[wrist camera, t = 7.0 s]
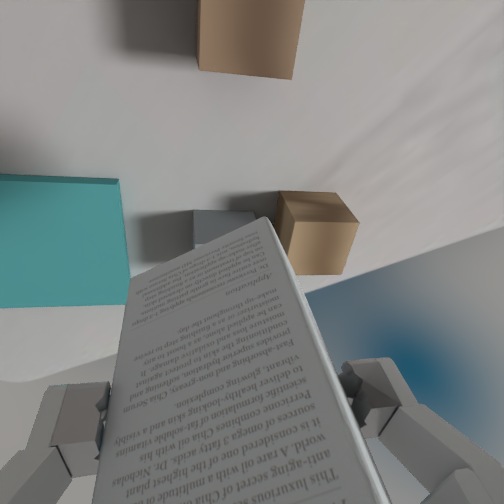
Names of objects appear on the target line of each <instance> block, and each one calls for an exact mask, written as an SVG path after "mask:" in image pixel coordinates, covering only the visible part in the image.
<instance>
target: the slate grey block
mask: <svg viewBox="0 0 504 504" xmlns="http://www.w3.org/2000/svg"><path fill="white" fill-rule="evenodd" d="M255 220H256V218H255V215H254V212H253V211H220V210H193V246H192V250H193V249H195V248H197V247H200V246H202V245H204V244H206V243H208V242H210V241H212V240H215V239H217V238H219V237H221V236H223V235H225V234H227V233H230V232H232V231H234V230H236V229H238V228H240V227H242V226H245V225H247V224H249V223H251V222H253V221H255Z"/></svg>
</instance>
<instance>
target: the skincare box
mask: <svg viewBox="0 0 504 504" xmlns="http://www.w3.org/2000/svg"><path fill="white" fill-rule="evenodd" d="M92 504H392V502H391V500H390V497H389V495H388V493H387V490H386V488H385V486H384V483H383V481H382V479H381V476H380V474H379V472H378V469H377V467H376V465H375V462H374V460H373V457H372V455H371V453H370V450H369V448H368V446H367V443H366V441H365V438H364V436H363V433H362V431H361V429H360V427H359V424H358V422H357V420H356V417H355V415H354V412H353V410H352V408H351V405H350V403H349V400H348V398H347V396H346V393H345V391H344V389H343V386H342V384H341V381H340V379H339V377H338V374H337V372H336V370H335V367H334V365H333V362H332V360H331V358H330V355H329V353H328V350H327V348H326V346H325V343H324V341H323V339H322V336H321V334H320V331H319V329H318V326H317V324H316V321H315V319H314V317H313V315H312V312H311V309H310V307H309V305H308V302H307V300H306V297H305V295H304V292H303V290H302V288H301V286H300V284H299V281H298V279H297V277H296V275H295V272H294V270H293V268H292V266H291V264H290V262H289V260H288V258H287V255H286V253H285V251H284V249H283V247H282V245H281V243H280V241H279V239H278V236H277V234H276V232H275V230H274V228H273V226H272V224H271V222H270V220H269V219H268V218H267V217H261V218H259V219H257V220H255V221H253V222H251V223H249V224H247V225H245V226H242V227H240V228H238V229H236V230H234V231H232V232H230V233H227V234H225V235H223V236H221V237H219V238H217V239H215V240H212V241H210V242H208V243H206V244H204V245H202V246H200V247H197V248H195V249H193V250H191V251H189V252H187V253H185V254H182V255H180V256H178V257H176V258H174V259H172V260H169V261H167V262H165V263H163V264H161V265H159V266H156V267H154V268H152V269H150V270H148V271H146V272H144V273H141V274H139V275H137V276H135V277H133V278H131V280H130V283H129V290H128V295H127V301H126V306H125V312H124V318H123V324H122V330H121V335H120V341H119V348H118V354H117V360H116V366H115V371H114V377H113V383H112V388H111V394H110V400H109V405H108V412H107V417H106V423H105V428H104V434H103V441H102V446H101V452H100V458H99V464H98V470H97V476H96V483H95V487H94V493H93V499H92Z"/></svg>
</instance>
